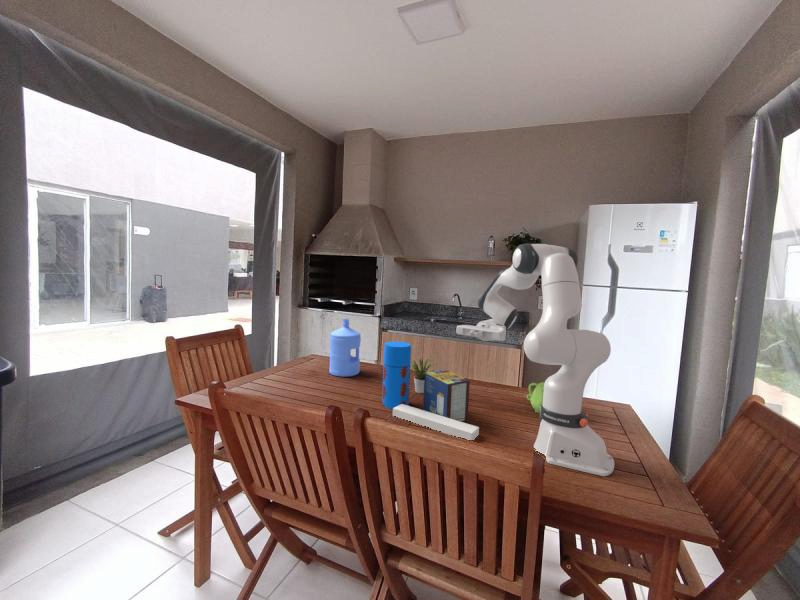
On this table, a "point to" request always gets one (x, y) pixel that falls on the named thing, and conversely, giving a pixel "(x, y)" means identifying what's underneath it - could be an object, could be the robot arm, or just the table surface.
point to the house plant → (420, 374)
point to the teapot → (536, 396)
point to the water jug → (344, 351)
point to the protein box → (446, 395)
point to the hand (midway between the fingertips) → (472, 334)
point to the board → (436, 422)
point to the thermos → (396, 374)
